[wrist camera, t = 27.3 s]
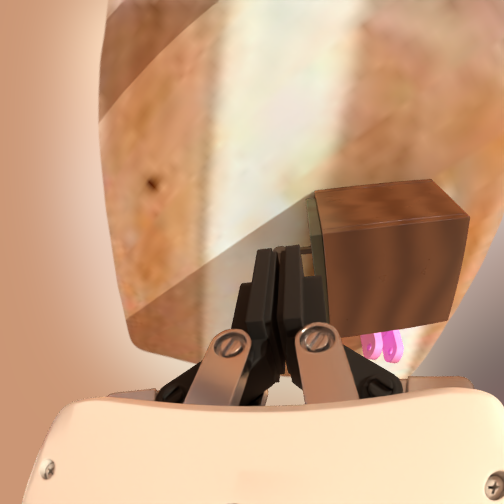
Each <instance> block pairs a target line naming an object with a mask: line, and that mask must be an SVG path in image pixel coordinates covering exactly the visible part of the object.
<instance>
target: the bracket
mask: <svg viewBox="0 0 504 504" xmlns="http://www.w3.org/2000/svg"><path fill="white" fill-rule="evenodd" d="M360 337H361V343H362V349H363V354H364V357H365V358H367V359H373V360H376V359H377V358H378V357H379V356H380V354H381V352H382V350H383V354H384V359H385V361H386V362H390V363H397V362H399V360H400V359H401V357H402V355H403V350H404V347H403V343H402V339H401V336H400V333H399V330H393V331H386V332H380V333H373V334H365V335H360Z"/></svg>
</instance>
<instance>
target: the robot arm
mask: <svg viewBox="0 0 504 504" xmlns="http://www.w3.org/2000/svg"><path fill="white" fill-rule="evenodd" d="M285 360H286V364H287V369H288V373H289V374H291V378H292V382H293V383H294V384H295V385H296V386H298V387H299V388H300V389H302V390H303V394H304V400H305V404H304V405H285V406H265V404H266V400H267V397H268V388H270V387H271V386H272V385H273V384H274V383H275V382H279V378H280V374H285ZM22 504H504V407H503V405H502V404H501V402H500V401H499V400H498V399H497V398H496V397H494V396H493V395H491V394H489V393H487V392H484V391H480V390H476V389H474V385H473V384H472V383H471V381H470V380H468V379H467V378H465V377H460V376H446V377H445V376H442V377H441V376H440V377H423V376H408V379H399V378H398V377H396V376H395V375H394V374H392V373H391V372H389V371H387V370H385V369H384V368H382V367H380V366H379V365H377V364H375V363H373V362H372V361H370V360H368V359H367V358H365V357H363V356H361V355H360V354H358V353H356V352H355V351H353V350H351V349H350V348H348V347H346V346H345V345H343V344H342V341H341V338H340V335H339V333H338V331H337V329H336V328H335V327H333V326H332V325H330V324H327V321H326V310H325V301H324V291H323V283H322V275H316V276H308V277H304V273H303V265H302V259H301V252H300V246H299V245H293V246H286V249H285V250H281V254H280V263H279V258H278V253H277V251H273V252H272V249H271V248H268V249H260V250H257V255H256V261H255V266H254V272H253V278H252V282H250V283H242V284H241V286H240V290H239V294H238V299H237V303H236V308H235V313H234V317H233V322H232V327H231V329H229V330H225V331H223V332H221V333H219V334H218V335H216V336H215V337H214V338H213V340H212V341H211V343H210V345H209V347H208V349H207V352H206V354H205V356H204V358H203V360H202V361H201V362H199V363H198V364H196V365H195V366H193V367H192V368H190V369H189V370H187V371H186V372H184V373H183V374H181V375H180V376H179V377H177V378H176V379H174V380H172V381H171V382H169V383H168V384H166V385H165V386H164V387H162V388H161V389H160V390H159V391H157V390H156V389H155V388H153V389H146V390H137V391H128V392H118V393H112V394H109V395H108V396H107V397H95V398H86V399H82V400H78V401H75V402H72V403H70V404H68V405H66V406H65V407H64V408H63V409H62V410H61V411H60V412H59V414H58V415H57V416H56V418H55V420H54V421H53V423H52V425H51V427H50V429H49V431H48V433H47V435H46V437H45V439H44V442H43V444H42V446H41V449H40V451H39V454H38V456H37V459H36V461H35V464H34V467H33V470H32V472H31V475H30V478H29V481H28V485H27V487H26V490H25V494H24V497H23V501H22Z"/></svg>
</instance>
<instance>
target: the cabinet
mask: <svg viewBox="0 0 504 504" xmlns="http://www.w3.org/2000/svg"><path fill="white" fill-rule="evenodd" d="M314 192H315V198H316V203H317V208H318V214H319V219H320V225H321V230H322V237H323V247H324V257H325V268H326V280H327V293H328V307H329V324H330V325H332V326H333V327H335V328H336V329H337V331H338V333H339V335H340V338H342V337H350V336H358V335H365V334H373V333H380V332H386V331H393V330H399V329H405V328H411V327H416V326H422V325H427V324H433V323H438V322H443V321H447V320H448V317H449V314H450V310H451V307H452V303H453V300H454V296H455V292H456V288H457V284H458V280H459V275H460V271H461V266H462V261H463V256H464V251H465V246H466V240H467V234H468V228H469V221H470V217H469V216H468V215H467V214H466V213H465V212H464V211H463V210H462V209H461V208H460V207H459V206H458V205H457V204H456V203H455V202H454V201H453V200H452V199H451V198H450V197H449V196H448V195H447V194H446V193H445V192H444V191H443V190H442V189H441V188H440V187H439V186H438V185H437V184H436V183H435V182H433V180H431V179H427V180H414V181H402V182H391V183H380V184H370V185H360V186H351V187H342V188H333V189H325V190H317V191H314Z"/></svg>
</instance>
